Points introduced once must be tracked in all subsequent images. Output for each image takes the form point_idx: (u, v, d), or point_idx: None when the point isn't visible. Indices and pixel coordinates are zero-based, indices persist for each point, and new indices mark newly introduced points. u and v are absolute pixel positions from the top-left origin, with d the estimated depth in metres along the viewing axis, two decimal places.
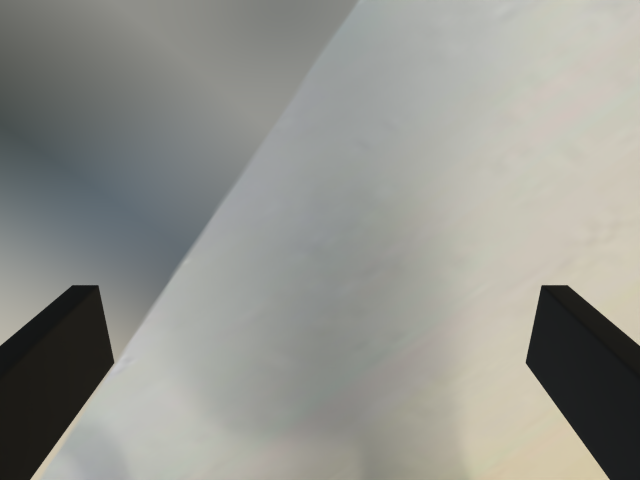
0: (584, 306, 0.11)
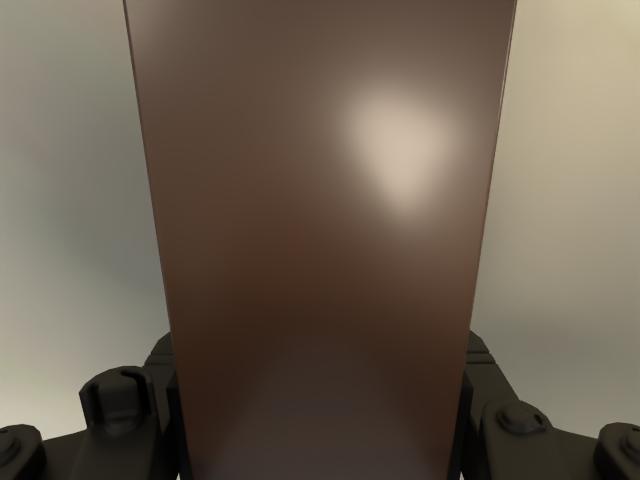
0: None
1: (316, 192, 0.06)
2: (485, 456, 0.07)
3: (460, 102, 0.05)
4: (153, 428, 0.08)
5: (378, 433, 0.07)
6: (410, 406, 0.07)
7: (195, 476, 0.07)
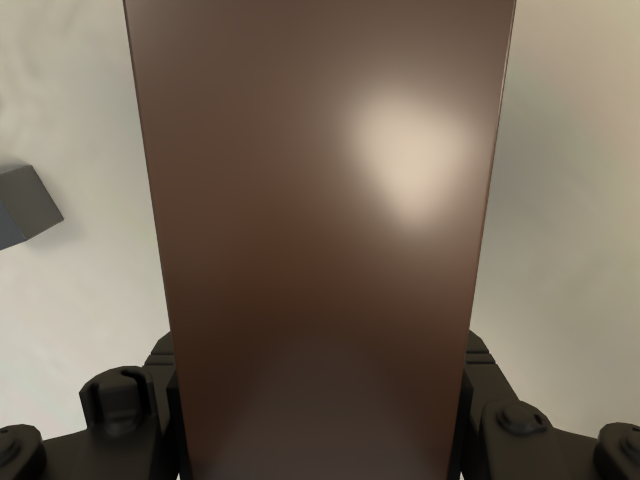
0: None
1: (316, 191, 0.06)
2: (485, 456, 0.07)
3: (460, 100, 0.05)
4: (153, 429, 0.07)
5: (378, 432, 0.07)
6: (410, 404, 0.07)
7: (195, 475, 0.07)
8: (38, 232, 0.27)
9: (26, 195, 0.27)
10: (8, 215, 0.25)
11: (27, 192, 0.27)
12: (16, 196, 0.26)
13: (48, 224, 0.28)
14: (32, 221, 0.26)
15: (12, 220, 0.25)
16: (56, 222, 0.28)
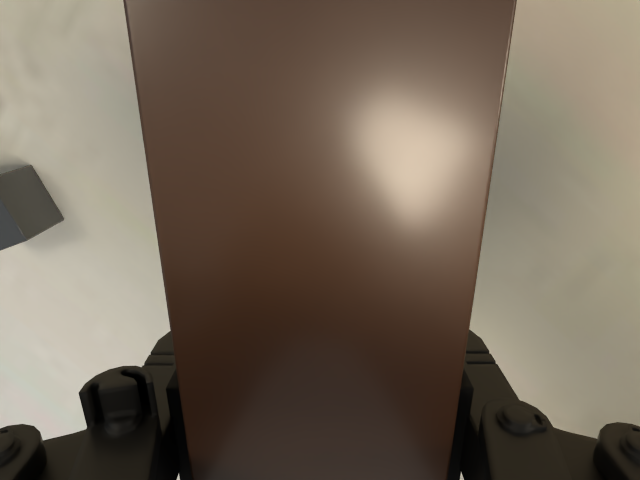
0: None
1: (316, 190, 0.06)
2: (485, 456, 0.07)
3: (460, 100, 0.05)
4: (153, 429, 0.07)
5: (378, 431, 0.07)
6: (409, 404, 0.07)
7: (195, 474, 0.07)
8: (38, 232, 0.27)
9: (26, 195, 0.27)
10: (8, 215, 0.25)
11: (27, 192, 0.27)
12: (16, 196, 0.26)
13: (48, 224, 0.28)
14: (32, 221, 0.26)
15: (12, 220, 0.25)
16: (56, 222, 0.28)
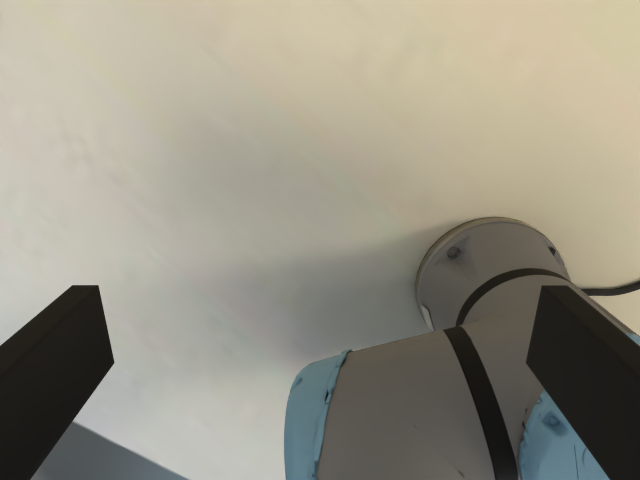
0: (585, 306, 0.11)
1: None
2: None
3: None
4: None
5: None
6: None
7: None
8: None
9: None
10: None
11: None
12: None
13: None
14: None
15: None
16: None
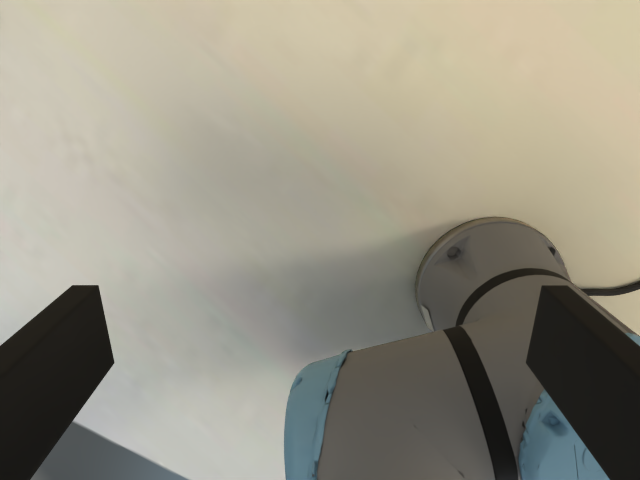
0: (585, 306, 0.11)
1: None
2: None
3: None
4: None
5: None
6: None
7: None
8: None
9: None
10: None
11: None
12: None
13: None
14: None
15: None
16: None
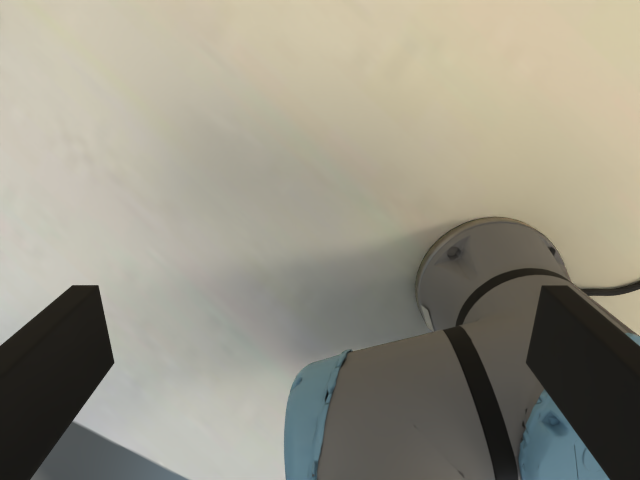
0: (585, 306, 0.11)
1: None
2: None
3: None
4: None
5: None
6: None
7: None
8: None
9: None
10: None
11: None
12: None
13: None
14: None
15: None
16: None
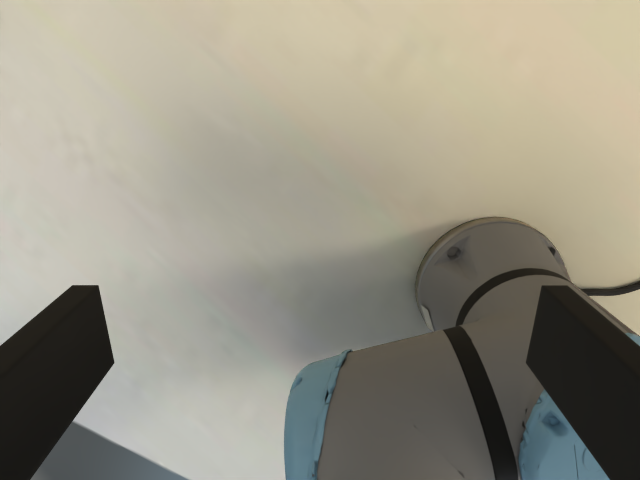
0: (585, 306, 0.11)
1: None
2: None
3: None
4: None
5: None
6: None
7: None
8: None
9: None
10: None
11: None
12: None
13: None
14: None
15: None
16: None
